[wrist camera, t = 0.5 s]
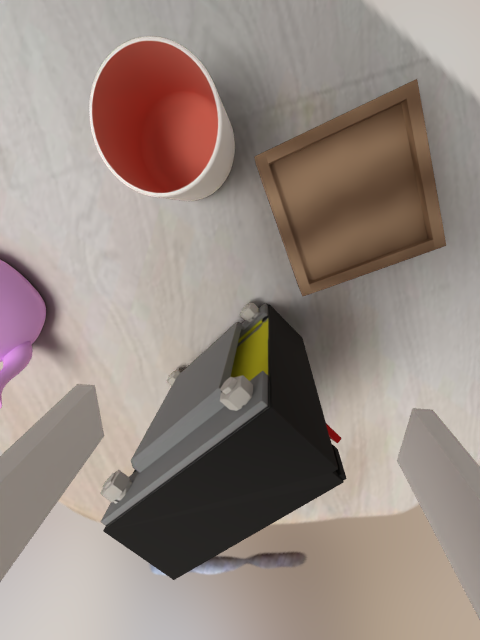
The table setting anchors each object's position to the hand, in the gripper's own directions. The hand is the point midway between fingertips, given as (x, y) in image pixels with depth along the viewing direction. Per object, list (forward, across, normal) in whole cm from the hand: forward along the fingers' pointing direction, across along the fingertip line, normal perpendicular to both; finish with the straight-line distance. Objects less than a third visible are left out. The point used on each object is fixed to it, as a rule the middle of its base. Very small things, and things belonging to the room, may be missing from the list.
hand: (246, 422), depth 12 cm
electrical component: (+24, -2, -11) cm, 27 cm away
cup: (+25, -8, +14) cm, 29 cm away
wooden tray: (+24, +8, +9) cm, 27 cm away
